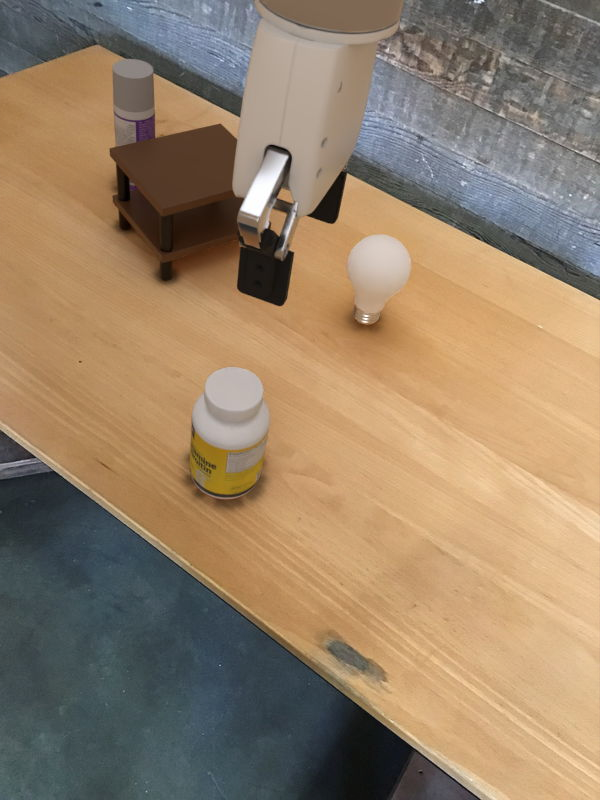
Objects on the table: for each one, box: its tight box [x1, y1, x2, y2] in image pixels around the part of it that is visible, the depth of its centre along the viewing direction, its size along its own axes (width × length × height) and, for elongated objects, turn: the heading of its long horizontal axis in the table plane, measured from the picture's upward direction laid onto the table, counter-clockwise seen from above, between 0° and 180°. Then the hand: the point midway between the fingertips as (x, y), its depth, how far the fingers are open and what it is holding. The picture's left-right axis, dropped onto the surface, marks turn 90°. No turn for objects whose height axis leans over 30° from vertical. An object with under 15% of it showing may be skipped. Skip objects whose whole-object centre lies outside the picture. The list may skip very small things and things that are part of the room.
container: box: [111, 58, 156, 191], centre depth 89 cm, size 5×5×15 cm
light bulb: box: [346, 233, 412, 326], centre depth 80 cm, size 7×7×11 cm
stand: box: [109, 123, 272, 282], centre depth 86 cm, size 14×12×10 cm
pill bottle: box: [189, 366, 271, 500], centre depth 64 cm, size 6×6×12 cm
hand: (289, 254), depth 51 cm, fingers open, 9 cm apart
